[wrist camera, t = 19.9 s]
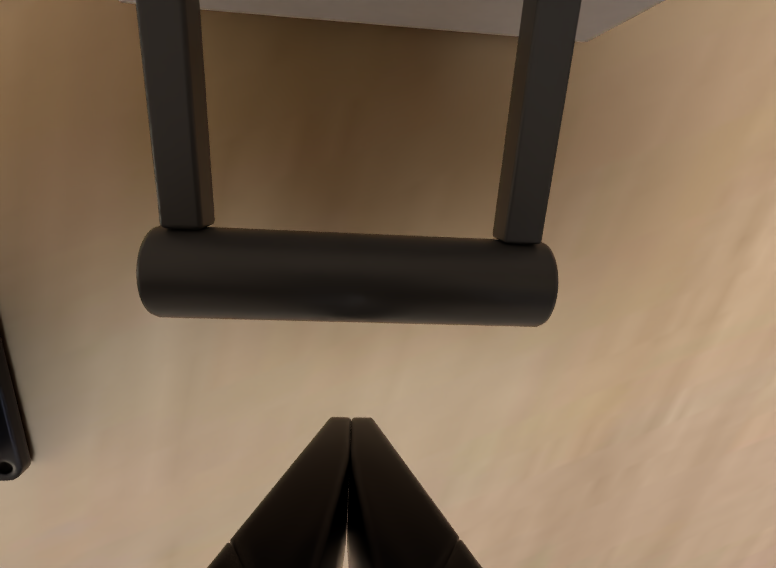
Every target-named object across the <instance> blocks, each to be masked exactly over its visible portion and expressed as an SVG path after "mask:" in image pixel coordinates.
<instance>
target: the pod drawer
mask: <svg viewBox="0 0 776 568" xmlns="http://www.w3.org/2000/svg"><path fill="white" fill-rule="evenodd" d="M118 1H120V2H122V3H130V4H136V9H137V19H138V28H139V37H140V46H141V55H142V64H143V73H144V82H145V91H146V101H147V110H148V119H149V128H150V137H151V146H152V155H153V164H154V174H155V183H156V192H157V201H158V210H159V219H160V226H157V227H155V228H153V229H151V230H150V231H149V232H148V233H147V235H146V236H145V238H144V240H143V241H142V244H141V246H140V250H139V254H138V259H137V269H136V277H137V286H138V291H139V295H140V298H141V301H142V303H143V305H144V306H145V308H146V309H147V310H148V312H150V313H151V314H153V315H155V316H158V317H171V318H211V319H250V320H289V321H328V322H368V323H407V324H446V325H485V326H524V327H537V326H539V325H542V324H544V323H545V322H546V321H547V320H548V319H549V317H550V316H551V314H552V312H553V309H554V306H555V303H556V299H557V293H558V270H557V264H556V260H555V257H554V255H553V253H552V251H551V249H550V248H549V247H548V246H547V245H546V244H544V243H542V242H541V240H542V234H543V228H544V222H545V216H546V211H547V205H548V199H549V193H550V187H551V181H552V175H553V169H554V163H555V157H556V151H557V145H558V139H559V133H560V127H561V121H562V115H563V109H564V103H565V97H566V91H567V85H568V79H569V73H570V67H571V61H572V55H573V49H574V43H575V41H576V42H588V41H590V40H592V39H594V38H595V37H597V36H599V35H601V34H603V33H605V32H607V31H609V30H610V29H612V28H614V27H616V26H618V25H620V24H622V23H624V22H625V21H627V20H629V19H631V18H633V17H635V16H637V15H639V14H640V13H642V12H644V11H646V10H648V9H650V8H652V7H654V6H655V5H657V4H659V3H661V2H663V1H665V0H118ZM200 10H212V11H224V12H235V13H247V14H259V15H271V16H282V17H294V18H306V19H318V20H329V21H341V22H353V23H364V24H376V25H388V26H400V27H411V28H423V29H435V30H447V31H458V32H470V33H482V34H494V35H505V36H517V37H519V38H518V45H517V53H516V61H515V68H514V76H513V84H512V91H511V99H510V106H509V114H508V122H507V129H506V137H505V144H504V152H503V160H502V167H501V175H500V183H499V190H498V198H497V205H496V213H495V221H494V228H493V236H494V237H495V238H497V239H499V240H497V239H474V238H451V237H428V236H405V235H382V234H359V233H335V232H312V231H289V230H266V229H243V228H220V227H207V226H210V225H212V224H214V221H215V217H214V203H213V188H212V174H211V160H210V145H209V131H208V117H207V103H206V88H205V74H204V60H203V45H202V31H201V17H200Z"/></svg>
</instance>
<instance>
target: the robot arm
mask: <svg viewBox="0 0 776 568" xmlns="http://www.w3.org/2000/svg"><path fill="white" fill-rule="evenodd" d="M350 439H351V440H350ZM30 464H31V459H30V455H29V451H28V447H27V443H26V438H25V434H24V430H23V426H22V422H21V418H20V414H19V410H18V406H17V402H16V398H15V394H14V389H13V385H12V381H11V377H10V373H9V369H8V365H7V361H6V357H5V353H4V349H3V344H2V340H1V336H0V481H4V480H14V479H16V478H17V477H19V476H20V475H21V474H22V473H23V472H24V471H25V470H26V469H27V468H28V467H29V466H30ZM348 489H349V492H348ZM347 513H348V519H347ZM346 533H347V549H348V564H349V568H482V567H481V566H480V564H479V563H478V562H477V560H476V559H475V558H474V556H473V555H472V554H471V552H470V551H469V550H468V548H467V547H466V545H465V544H464V543H463V541H462V540H459V536H458V535H457V533H456V532H455V531H454V529H453V528H452V527H451V525H450V524H449V522H448V521H447V520H446V518H445V517H444V516H443V514H442V513H441V512H440V510H439V509H438V507H437V506H436V505H435V503H434V502H433V501H432V499H431V498H430V496H429V495H428V494H427V492H426V491H425V490H424V488H423V487H422V486H421V484H420V483H419V481H418V480H417V479H416V477H415V476H414V475H413V473H412V472H411V471H410V469H409V468H408V466H407V465H406V464H405V462H404V461H403V460H402V458H401V457H400V456H399V454H398V453H397V451H396V450H395V449H394V447H393V446H392V445H391V443H390V442H389V441H388V439H387V438H386V436H385V435H384V434H383V432H382V431H381V430H380V428H379V427H378V425H377V424H376V423H375V421H374V420H373V419H372V418H353V419H352V421H351V419H350V418H348V417H332V418H330V419H329V420H328V421H327V422H326V424H325V425H324V426H323V427H322V428H321V430H320V431H319V432H318V433H317V435H316V436H315V437H314V438H313V439H312V441H311V442H310V443H309V444H308V446H307V447H306V448H305V449H304V450H303V452H302V453H301V454H300V455H299V457H298V458H297V459H296V460H295V461H294V463H293V464H292V465H291V466H290V468H289V469H288V470H287V471H286V472H285V474H284V475H283V476H282V477H281V479H280V480H279V481H278V482H277V483H276V485H275V486H274V487H273V488H272V490H271V491H270V492H269V493H268V494H267V496H266V497H265V498H264V499H263V501H262V502H261V503H260V504H259V506H258V507H257V508H256V509H255V510H254V512H253V513H252V514H251V515H250V517H249V518H248V519H247V520H246V521H245V523H244V524H243V525H242V526H241V528H240V529H239V530H238V531H237V532H236V534H235V535H234V536H233V537H232V539H231V540H230V543H227V544H226V545H225V547H224V548H223V549H222V550H221V552H220V553H219V554H218V555H217V557H216V558H215V559H214V560H213V561H212V563H211V564H210V565H209V566H208V567H207V568H342V566H343V560H344V553H345V545H346Z"/></svg>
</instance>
